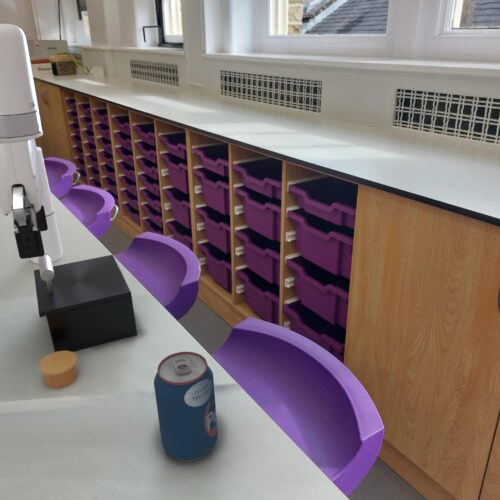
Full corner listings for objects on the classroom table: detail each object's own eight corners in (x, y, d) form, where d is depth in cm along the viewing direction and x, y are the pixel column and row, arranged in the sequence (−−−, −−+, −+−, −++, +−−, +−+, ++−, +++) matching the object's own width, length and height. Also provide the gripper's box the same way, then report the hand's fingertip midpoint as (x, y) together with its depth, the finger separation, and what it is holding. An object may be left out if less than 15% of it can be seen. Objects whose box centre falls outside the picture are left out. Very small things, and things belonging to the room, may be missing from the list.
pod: (40, 399, 69) (33, 374, 67) (50, 376, 74) (44, 351, 72) (77, 397, 69) (71, 371, 68) (85, 373, 74) (80, 349, 72)
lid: (39, 317, 72) (32, 286, 70) (34, 274, 85) (28, 247, 83) (131, 296, 77) (127, 266, 75) (113, 258, 91) (109, 232, 88)
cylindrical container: (32, 253, 115) (7, 148, 105) (63, 248, 117) (42, 145, 107) (29, 265, 109) (2, 155, 99) (63, 260, 111) (40, 152, 101)
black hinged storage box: (57, 364, 76) (46, 316, 73) (50, 316, 90) (40, 273, 86) (138, 342, 81) (131, 296, 77) (120, 299, 94) (113, 258, 91)
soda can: (225, 456, 59) (219, 377, 54) (168, 473, 57) (157, 392, 52) (209, 417, 65) (203, 343, 60) (158, 431, 63) (147, 355, 58)
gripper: (-11, 116, 71) (13, 225, 78) (-33, 141, 56) (-1, 272, 63) (44, 114, 73) (63, 220, 80) (37, 136, 58) (60, 264, 65)
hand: (35, 243), depth 72 cm, fingers open, 9 cm apart
